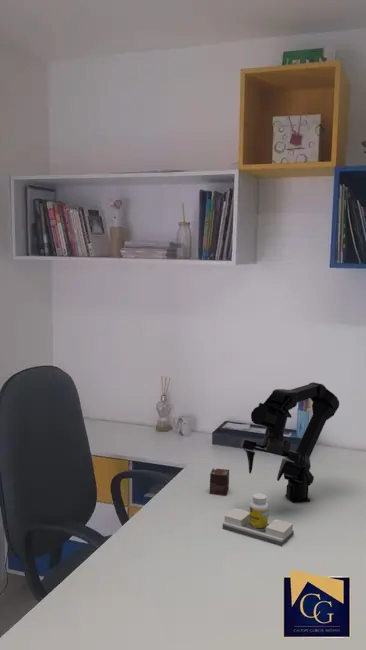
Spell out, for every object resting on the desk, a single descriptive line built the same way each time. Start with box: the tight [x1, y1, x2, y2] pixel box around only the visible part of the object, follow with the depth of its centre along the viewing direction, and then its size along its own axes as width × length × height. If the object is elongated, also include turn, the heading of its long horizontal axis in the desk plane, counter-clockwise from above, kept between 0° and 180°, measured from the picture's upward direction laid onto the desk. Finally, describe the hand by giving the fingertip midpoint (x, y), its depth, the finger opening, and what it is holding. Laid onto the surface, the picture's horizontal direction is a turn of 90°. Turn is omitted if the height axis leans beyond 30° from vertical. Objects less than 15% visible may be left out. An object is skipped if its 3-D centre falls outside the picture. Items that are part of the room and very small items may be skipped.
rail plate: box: [222, 507, 295, 547], centre depth 181 cm, size 19×9×4 cm, turn 58°
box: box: [209, 467, 230, 496], centre depth 211 cm, size 6×6×7 cm
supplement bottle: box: [249, 493, 269, 531], centre depth 181 cm, size 5×5×10 cm
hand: (263, 476), depth 194 cm, fingers open, 9 cm apart
